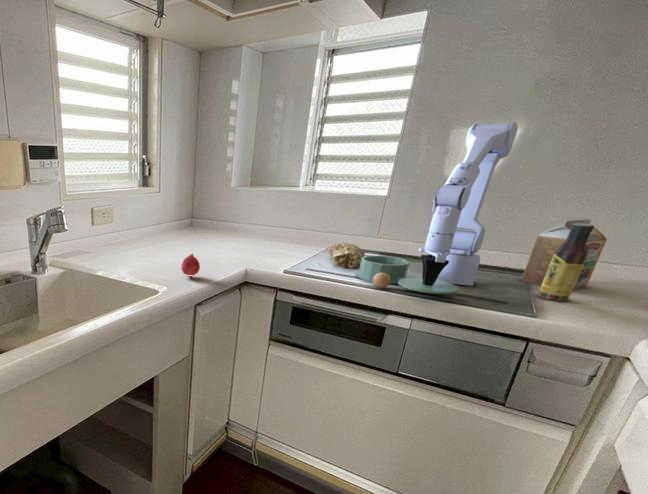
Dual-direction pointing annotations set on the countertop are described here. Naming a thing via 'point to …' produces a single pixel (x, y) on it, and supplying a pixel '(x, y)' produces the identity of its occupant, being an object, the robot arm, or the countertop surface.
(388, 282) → the orange brown ball
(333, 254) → the tan brown irregular lump
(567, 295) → the sauce bottle
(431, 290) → the bin lid
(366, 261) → the green faceted bin
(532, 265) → the milk carton
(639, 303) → the countertop surface
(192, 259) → the onion
